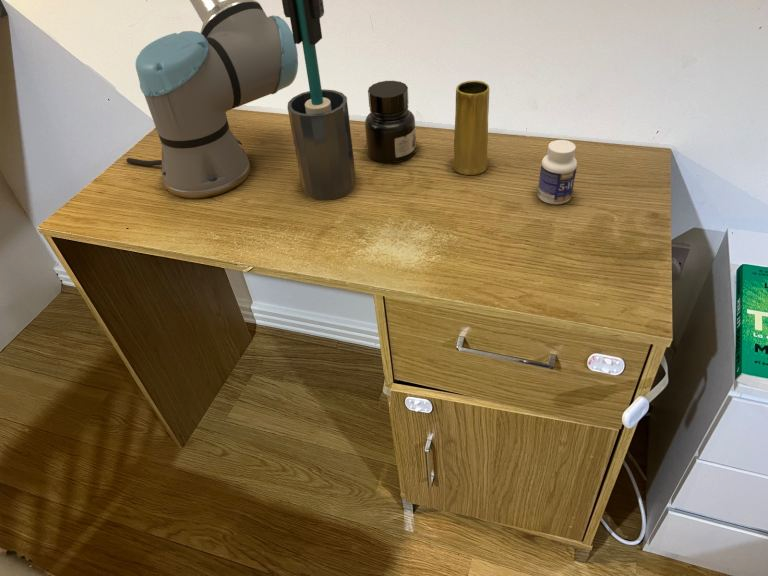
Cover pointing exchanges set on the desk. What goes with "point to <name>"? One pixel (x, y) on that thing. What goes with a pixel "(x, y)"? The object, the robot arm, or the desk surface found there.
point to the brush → (311, 68)
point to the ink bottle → (390, 123)
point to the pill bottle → (558, 173)
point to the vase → (471, 128)
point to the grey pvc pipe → (323, 146)
